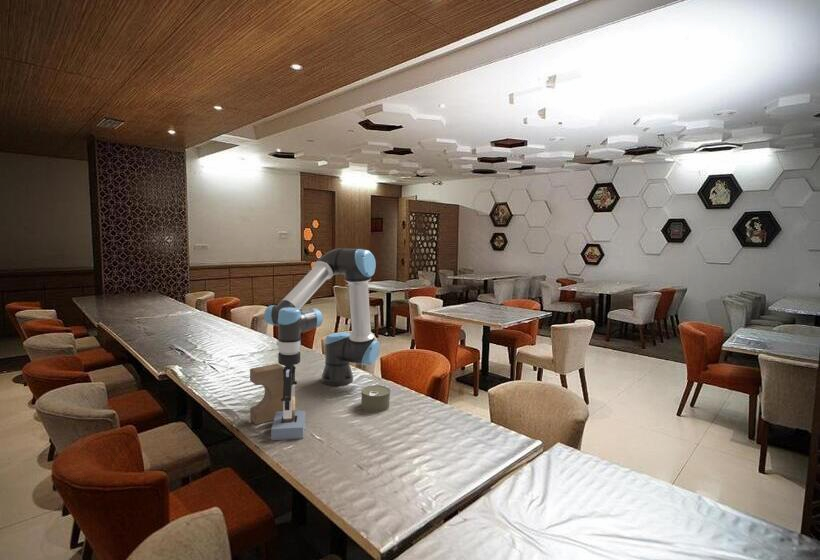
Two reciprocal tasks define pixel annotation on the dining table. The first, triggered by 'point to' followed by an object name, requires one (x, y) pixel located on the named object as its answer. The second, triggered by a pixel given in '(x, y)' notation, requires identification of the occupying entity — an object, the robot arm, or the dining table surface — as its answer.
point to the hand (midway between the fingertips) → (289, 409)
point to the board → (288, 427)
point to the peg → (292, 412)
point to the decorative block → (267, 392)
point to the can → (375, 398)
